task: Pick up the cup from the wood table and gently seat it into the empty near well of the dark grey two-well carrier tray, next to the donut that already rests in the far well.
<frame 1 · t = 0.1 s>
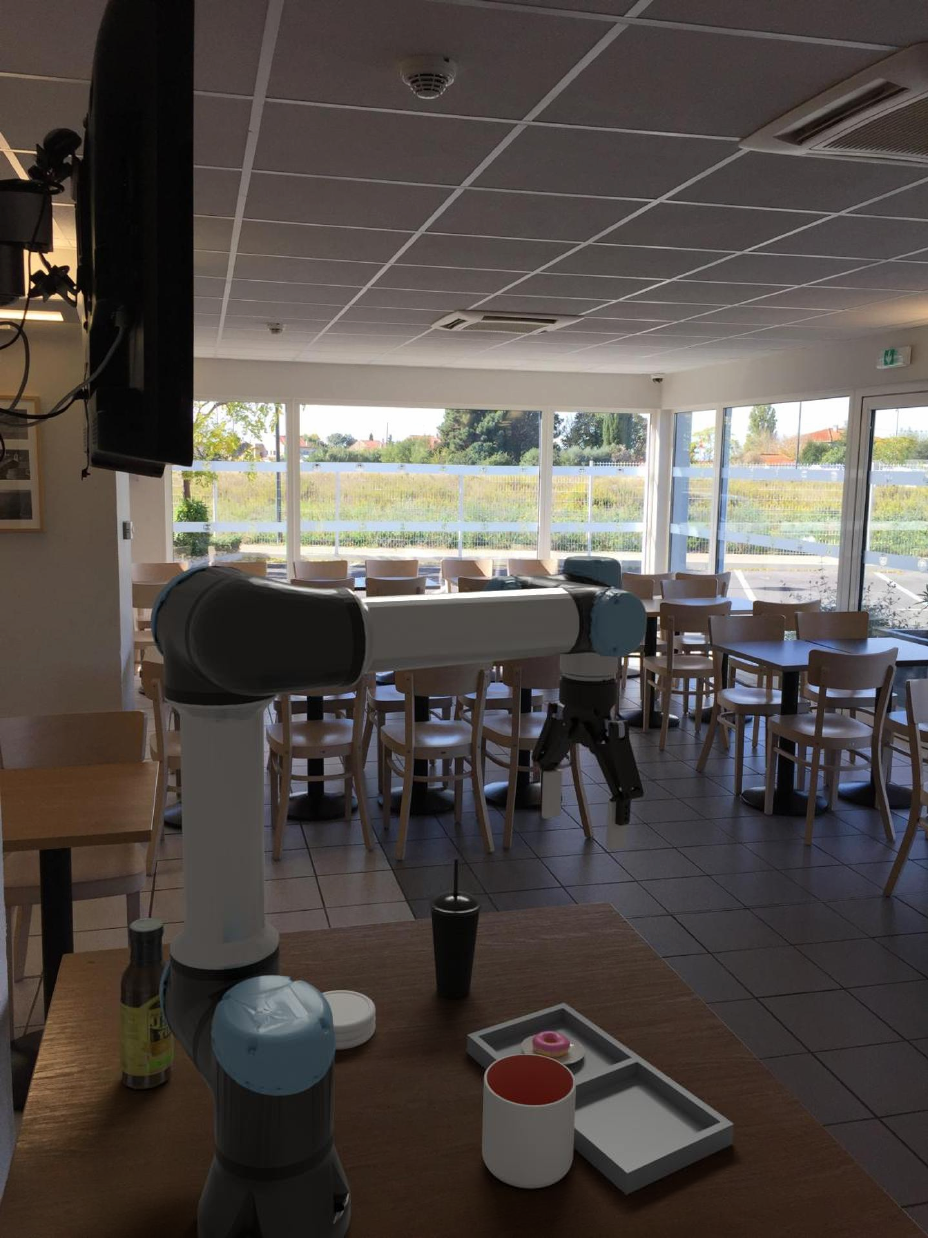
hand: (582, 831, 136), 28 cm above the table, fingers open, 13 cm apart
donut: (553, 1062, 131), resting on carrier tray
sauce bottle: (148, 1079, 127), on the table
drinking cup: (453, 992, 149), on the table
cup: (526, 1165, 112), on the table
coaster: (338, 1032, 138), on the table
carrier tray: (590, 1095, 125), on the table
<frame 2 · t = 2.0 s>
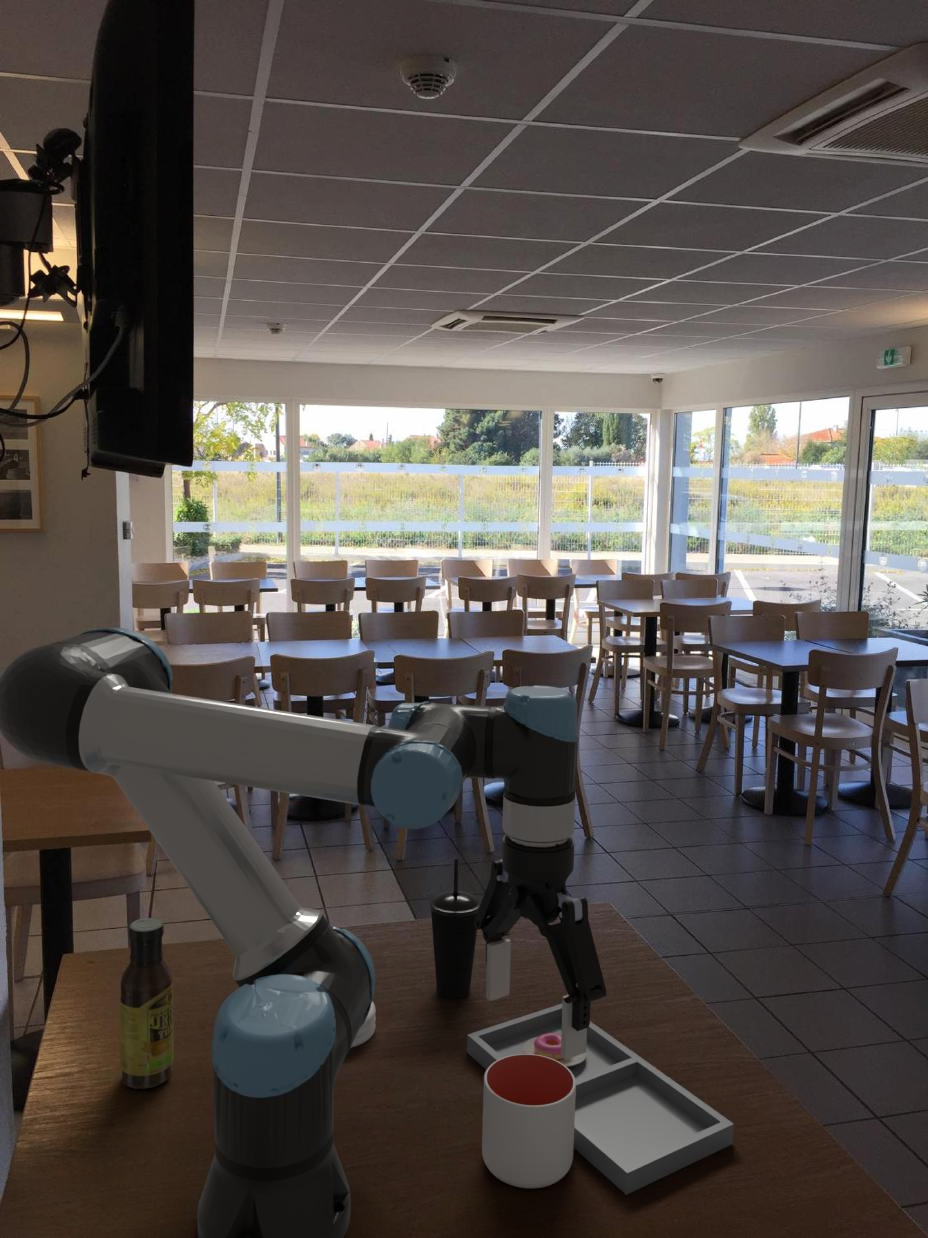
hand: (533, 1024, 110), 16 cm above the table, fingers open, 13 cm apart
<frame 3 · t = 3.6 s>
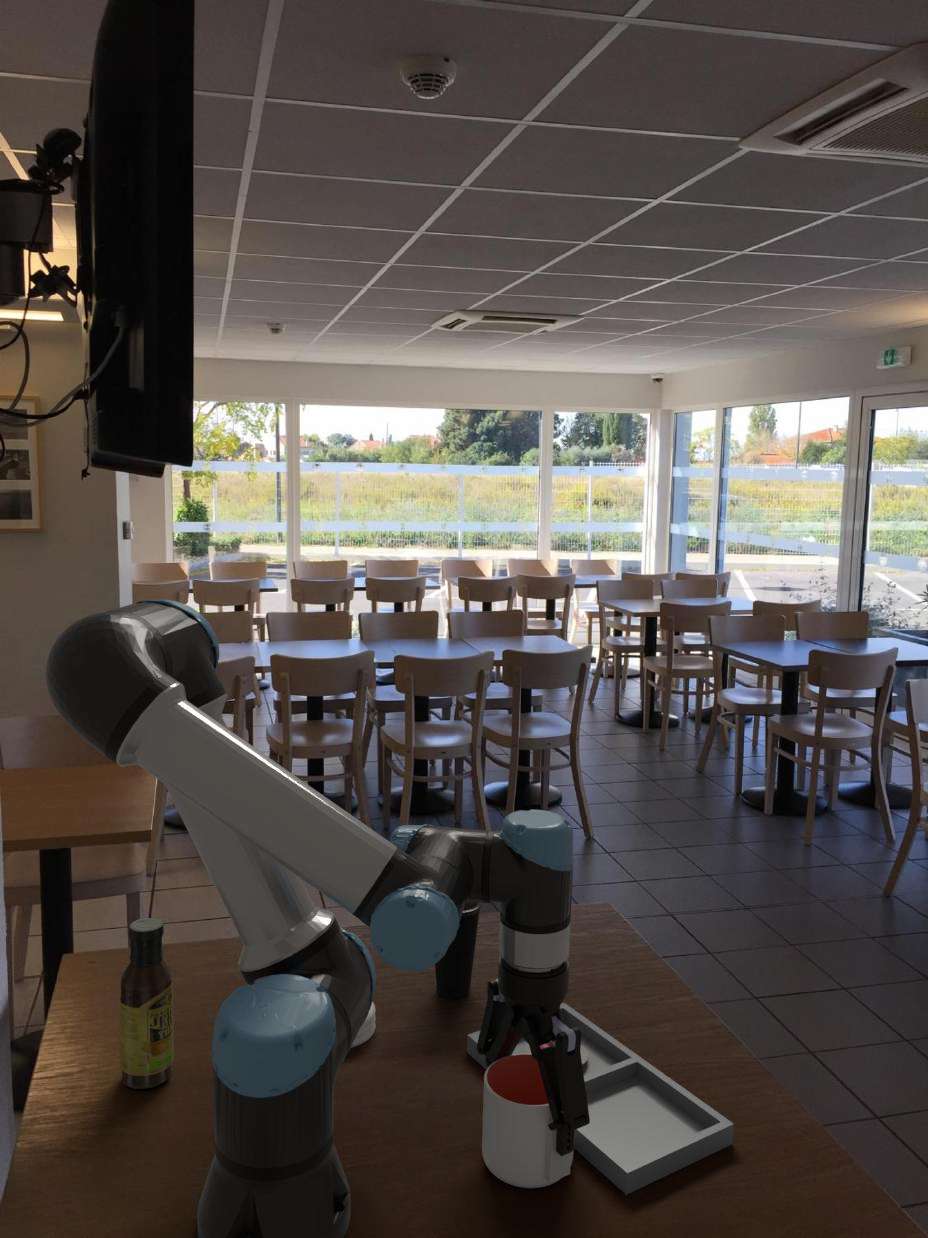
hand: (527, 1148, 112), 2 cm above the table, fingers closed on cup, 10 cm apart
cup: (527, 1164, 112), on the table, touching gripper
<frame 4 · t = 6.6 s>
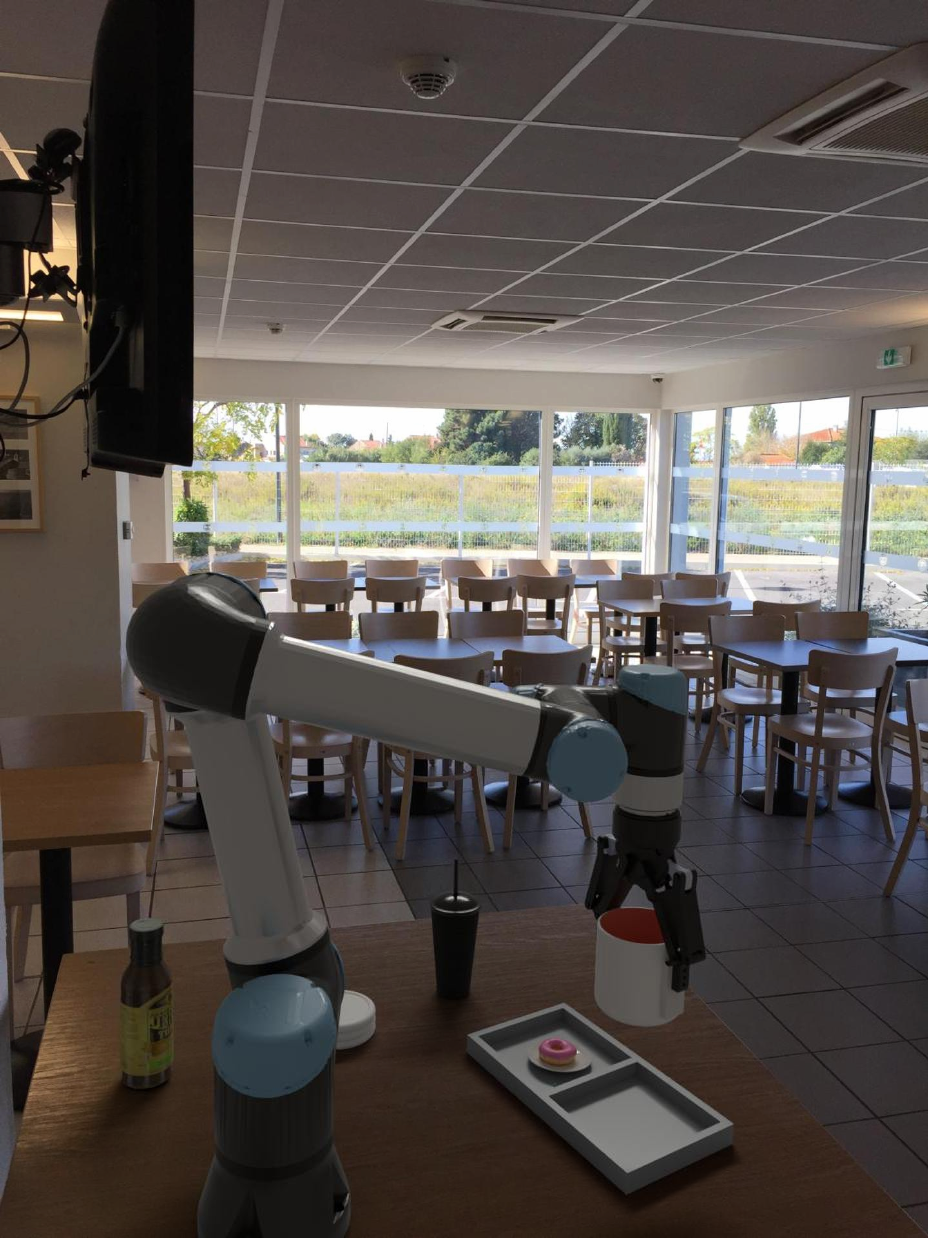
hand: (638, 993, 116), 17 cm above the table, fingers closed on cup, 10 cm apart
cup: (637, 1010, 116), point 15 cm above the table, touching gripper
when the fingers open (5 cm above the table, at t = 9.8 s): cup drops 3 cm, resting on carrier tray.
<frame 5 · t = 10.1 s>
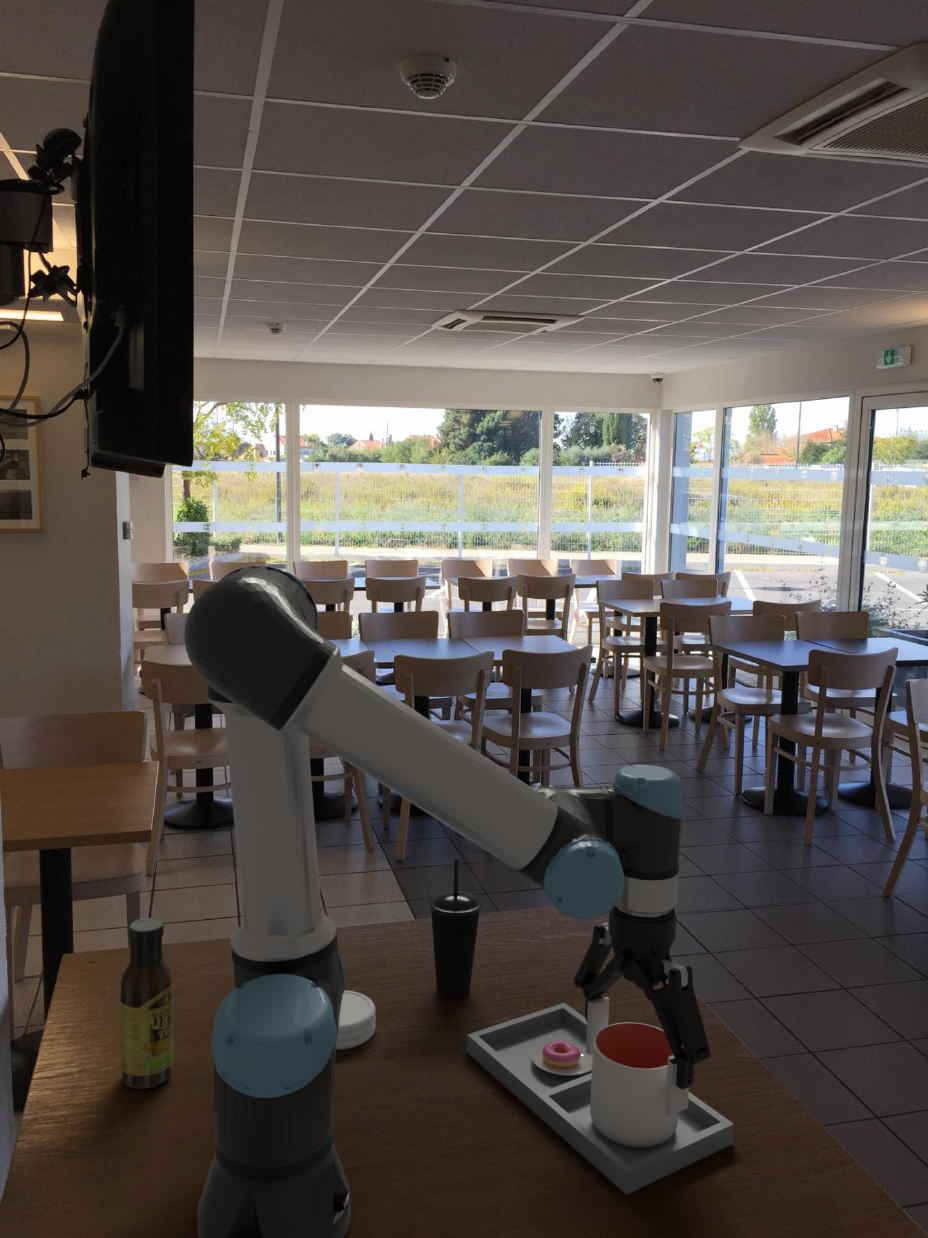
hand: (634, 1079, 118), 6 cm above the table, fingers open, 13 cm apart
cup: (633, 1127, 118), resting on carrier tray
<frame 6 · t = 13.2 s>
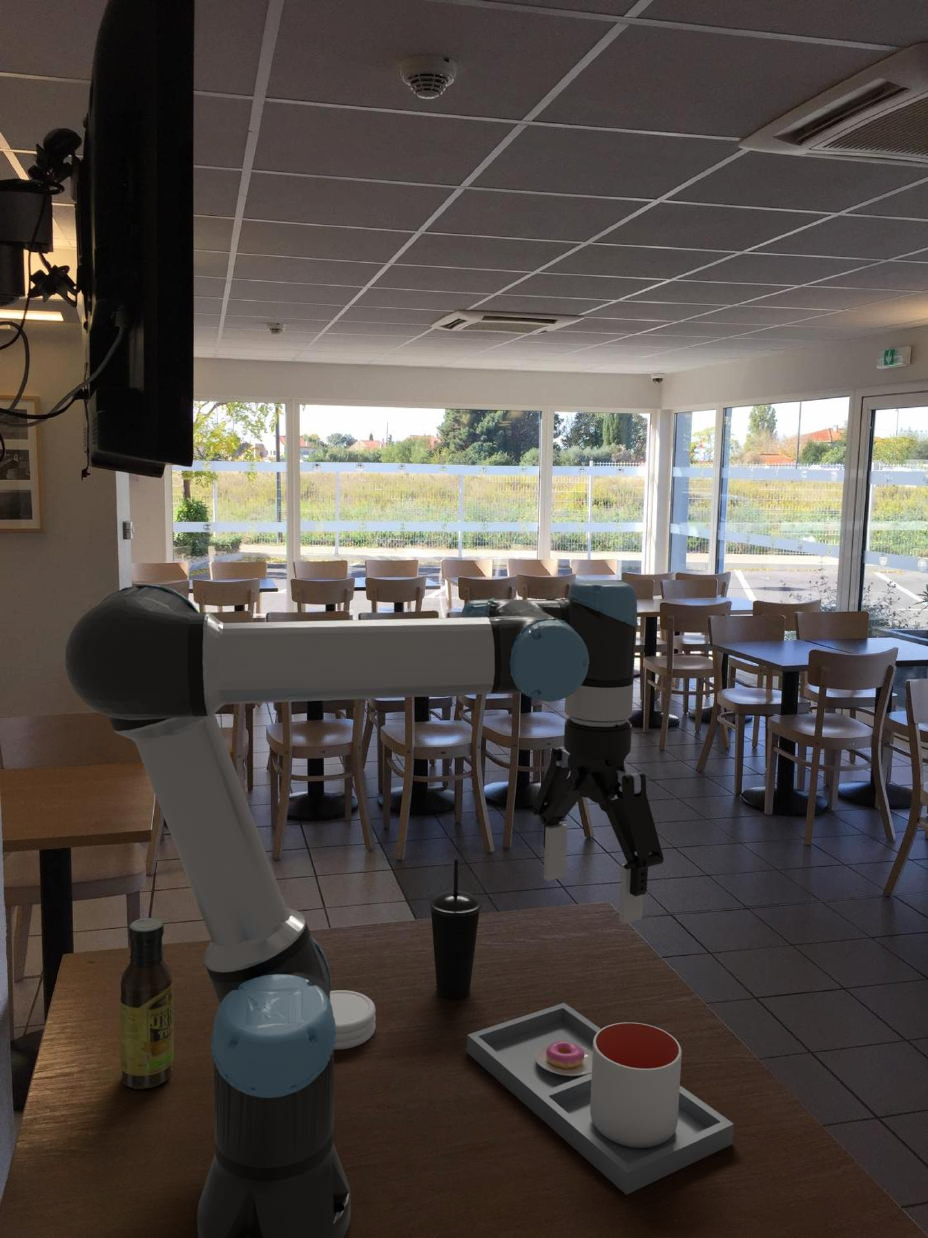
hand: (590, 898, 118), 27 cm above the table, fingers open, 13 cm apart
at the end: cup inside the target area on the carrier tray (0.3 cm from its centre), point 0.4 cm above the carrier tray's base; cup tilted 0°; the gripper is holding nothing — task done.
